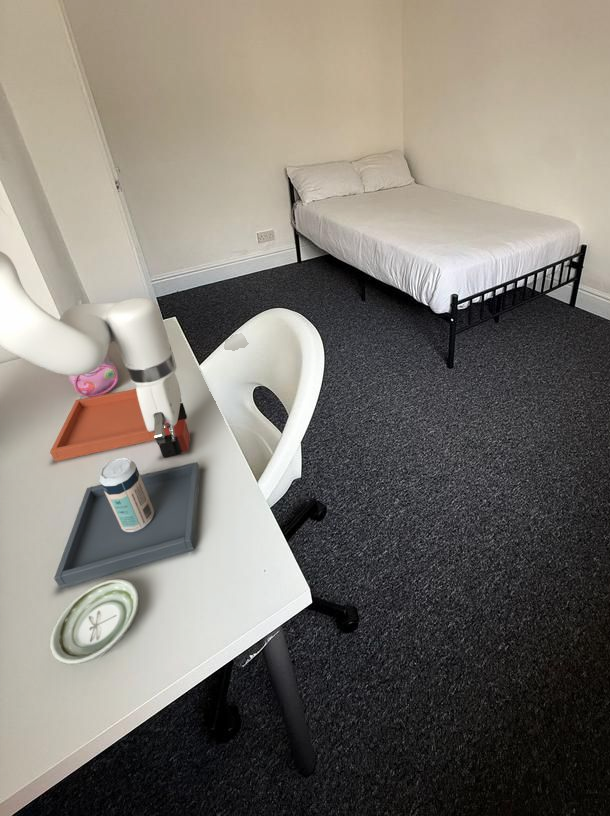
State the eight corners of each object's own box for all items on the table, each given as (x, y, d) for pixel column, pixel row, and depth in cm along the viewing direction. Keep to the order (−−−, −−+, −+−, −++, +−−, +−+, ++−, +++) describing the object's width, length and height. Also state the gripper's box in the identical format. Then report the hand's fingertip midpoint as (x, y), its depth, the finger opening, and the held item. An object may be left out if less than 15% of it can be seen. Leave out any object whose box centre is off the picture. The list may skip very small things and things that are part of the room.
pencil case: (65, 365, 107) (52, 335, 103) (106, 352, 112) (95, 323, 108) (79, 407, 93) (64, 374, 89) (125, 389, 98) (113, 358, 94)
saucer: (153, 627, 54) (148, 617, 53) (65, 694, 48) (58, 684, 47) (130, 573, 61) (125, 563, 60) (50, 627, 55) (43, 617, 54)
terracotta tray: (54, 461, 79) (49, 451, 78) (80, 408, 92) (76, 399, 91) (156, 439, 84) (152, 430, 83) (166, 392, 97) (163, 383, 96)
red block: (163, 457, 80) (157, 440, 78) (166, 440, 84) (160, 423, 82) (188, 451, 81) (183, 434, 79) (190, 435, 85) (185, 418, 83)
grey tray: (60, 589, 59) (53, 578, 58) (91, 498, 72) (86, 487, 71) (194, 550, 64) (190, 539, 62) (200, 471, 77) (197, 461, 76)
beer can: (150, 501, 70) (130, 450, 65) (158, 521, 67) (137, 469, 62) (118, 518, 68) (94, 466, 62) (125, 540, 64) (100, 487, 59)
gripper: (137, 344, 80) (161, 412, 88) (116, 401, 65) (147, 476, 73) (179, 337, 82) (199, 404, 90) (168, 390, 67) (193, 465, 75)
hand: (176, 436), depth 81 cm, fingers open, 9 cm apart
